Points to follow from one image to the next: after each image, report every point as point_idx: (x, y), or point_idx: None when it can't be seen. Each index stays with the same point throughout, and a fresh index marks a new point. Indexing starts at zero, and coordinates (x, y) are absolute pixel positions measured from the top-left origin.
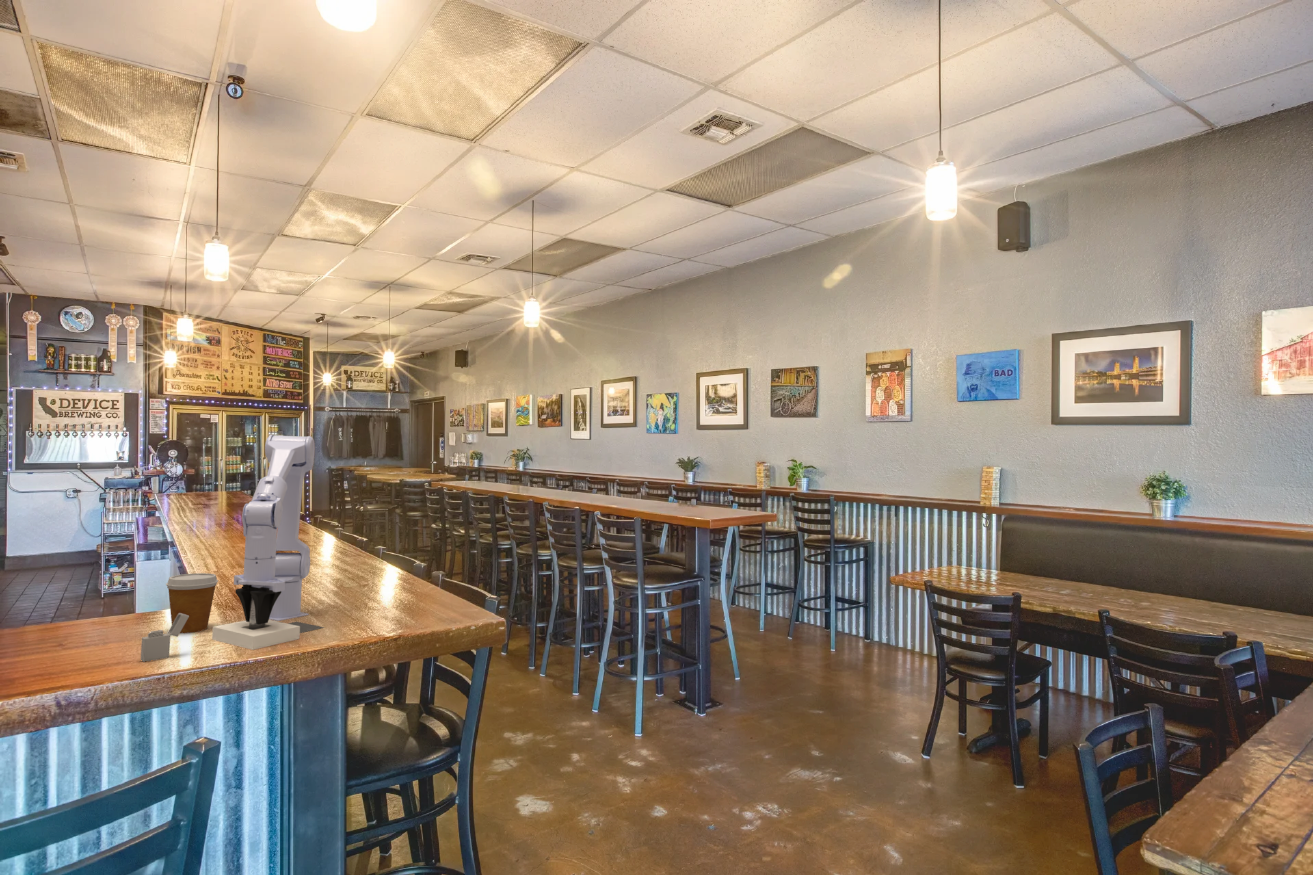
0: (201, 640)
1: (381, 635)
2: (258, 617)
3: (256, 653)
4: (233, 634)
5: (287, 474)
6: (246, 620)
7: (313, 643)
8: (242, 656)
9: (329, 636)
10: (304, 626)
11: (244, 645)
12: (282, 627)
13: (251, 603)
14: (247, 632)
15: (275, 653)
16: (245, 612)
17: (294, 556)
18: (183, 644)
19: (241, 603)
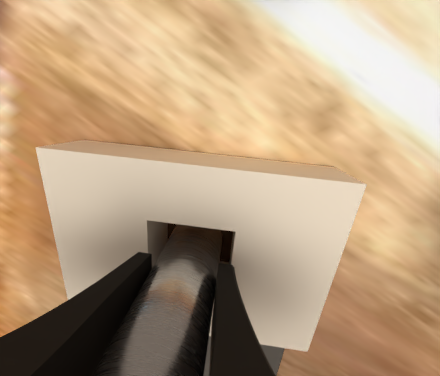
0: (387, 158)
1: None
2: (111, 271)
3: (57, 132)
4: (188, 161)
5: None
6: (225, 266)
7: (50, 272)
8: (53, 82)
9: None
10: (207, 363)
11: (122, 146)
12: None
13: (147, 359)
14: (124, 183)
15: (17, 160)
16: (223, 295)
17: None
18: (411, 81)
19: (262, 354)
